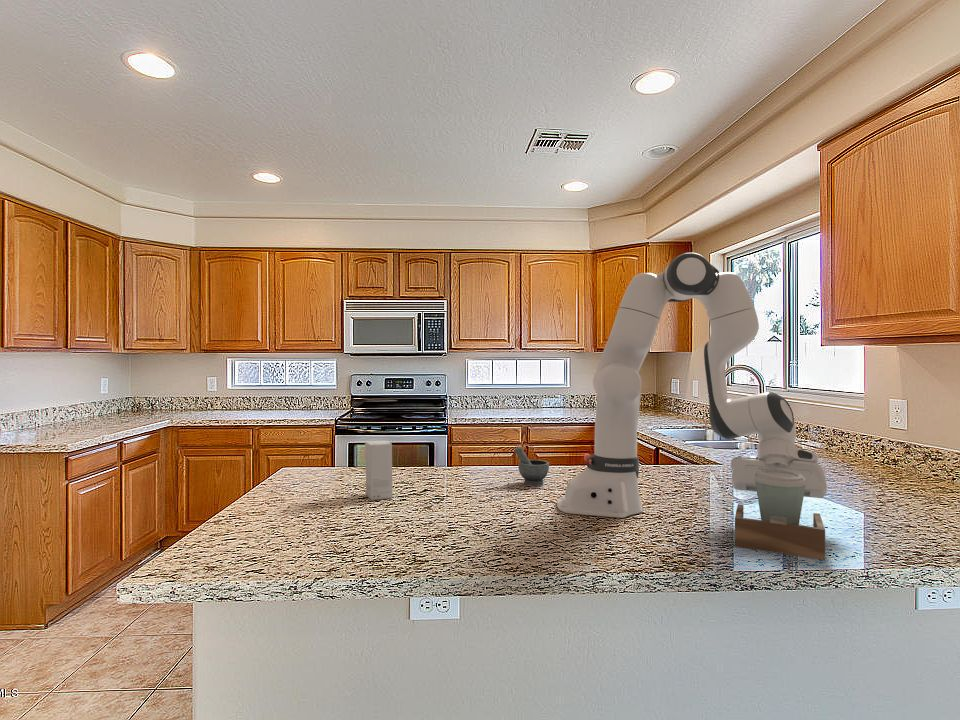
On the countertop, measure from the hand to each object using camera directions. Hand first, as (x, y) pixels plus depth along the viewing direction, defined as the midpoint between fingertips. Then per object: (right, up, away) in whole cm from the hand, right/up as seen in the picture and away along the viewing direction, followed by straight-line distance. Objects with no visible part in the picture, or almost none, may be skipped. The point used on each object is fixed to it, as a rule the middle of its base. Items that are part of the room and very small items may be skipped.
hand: (777, 507), depth 128 cm
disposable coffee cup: (-3, -6, -5) cm, 8 cm away
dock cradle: (-5, -5, -9) cm, 11 cm away
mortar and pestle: (-54, -5, +46) cm, 71 cm away
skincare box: (-99, -5, +28) cm, 103 cm away
